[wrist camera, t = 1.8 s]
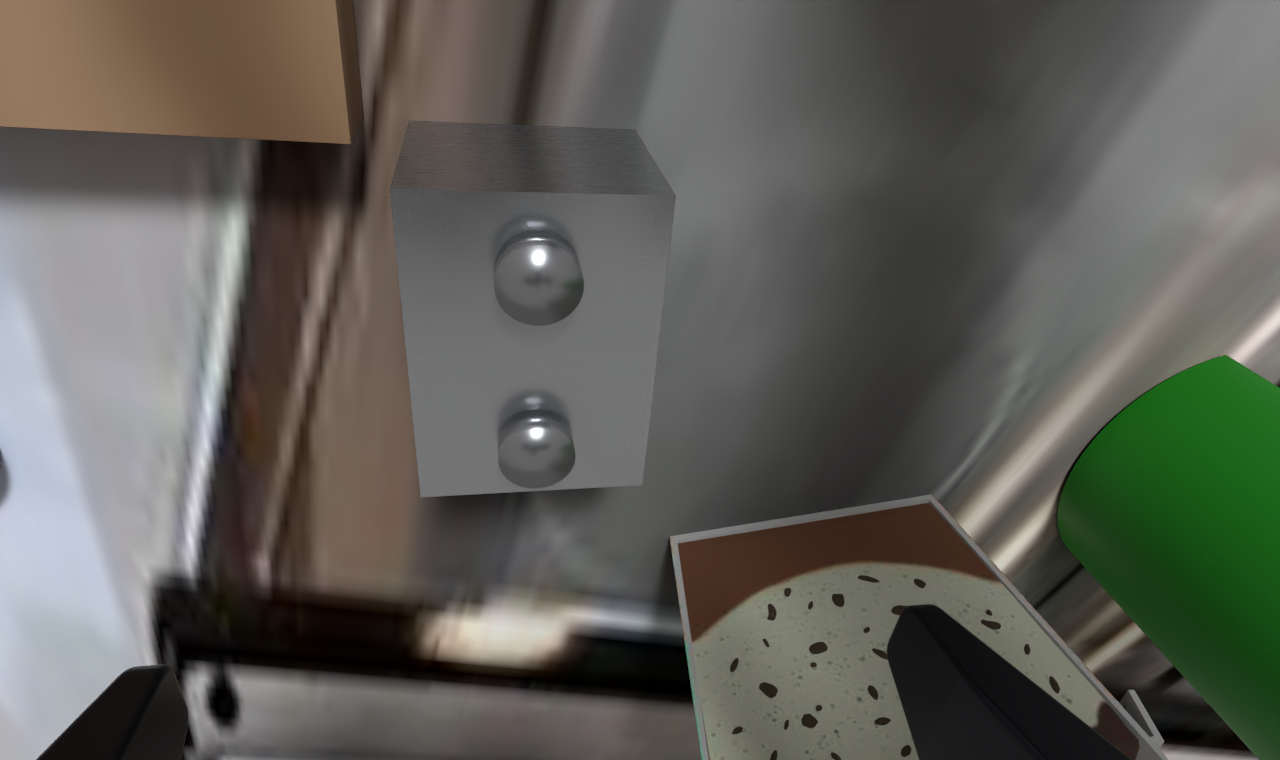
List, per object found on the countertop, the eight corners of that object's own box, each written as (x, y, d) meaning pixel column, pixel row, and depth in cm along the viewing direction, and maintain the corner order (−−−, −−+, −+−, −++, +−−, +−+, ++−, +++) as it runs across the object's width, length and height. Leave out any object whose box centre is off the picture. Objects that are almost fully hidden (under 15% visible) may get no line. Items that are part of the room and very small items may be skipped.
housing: (633, 127, 17) (684, 209, 13) (614, 379, 21) (647, 505, 17) (409, 118, 16) (386, 203, 12) (430, 384, 20) (418, 519, 16)
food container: (633, 657, 28) (696, 977, 20) (625, 543, 25) (697, 873, 16) (938, 602, 30) (1113, 878, 21) (971, 487, 26) (1194, 764, 18)
